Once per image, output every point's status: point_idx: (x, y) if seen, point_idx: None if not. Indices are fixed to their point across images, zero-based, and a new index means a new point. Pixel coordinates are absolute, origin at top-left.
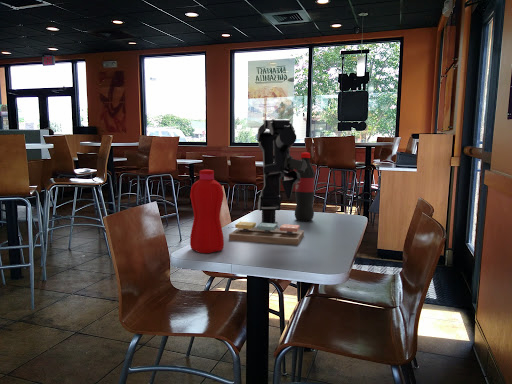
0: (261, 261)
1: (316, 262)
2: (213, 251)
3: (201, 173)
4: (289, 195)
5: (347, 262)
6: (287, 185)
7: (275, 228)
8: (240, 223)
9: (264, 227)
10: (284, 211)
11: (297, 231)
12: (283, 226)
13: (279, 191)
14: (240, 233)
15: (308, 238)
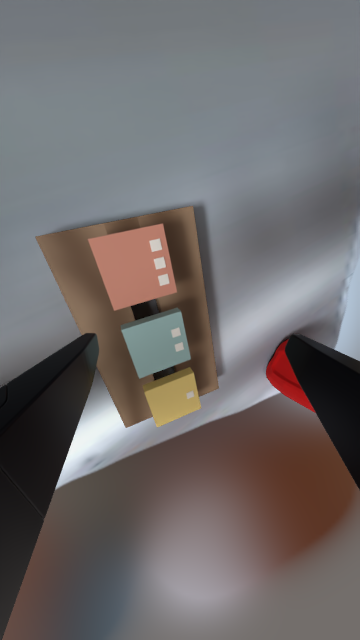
0: (331, 236)
1: (326, 95)
2: None
3: None
4: (88, 353)
5: None
6: (24, 487)
7: (153, 315)
8: (181, 409)
9: (185, 337)
10: None
11: (74, 254)
12: (156, 287)
13: (321, 346)
14: (200, 376)
15: (71, 202)
